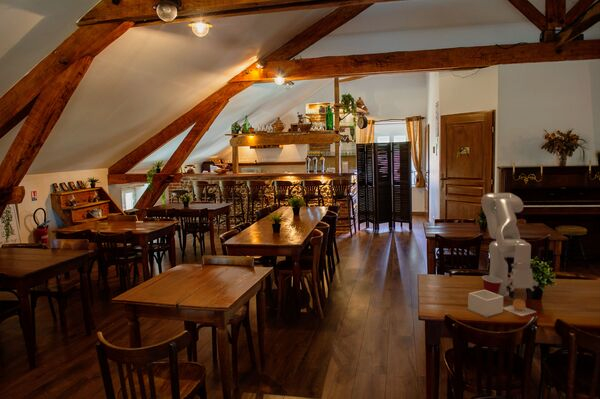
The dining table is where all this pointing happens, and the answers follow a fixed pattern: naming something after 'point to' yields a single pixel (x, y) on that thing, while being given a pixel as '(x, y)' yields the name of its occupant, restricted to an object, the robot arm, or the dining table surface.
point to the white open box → (485, 303)
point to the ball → (519, 304)
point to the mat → (519, 312)
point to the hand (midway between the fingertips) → (520, 297)
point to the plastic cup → (492, 283)
